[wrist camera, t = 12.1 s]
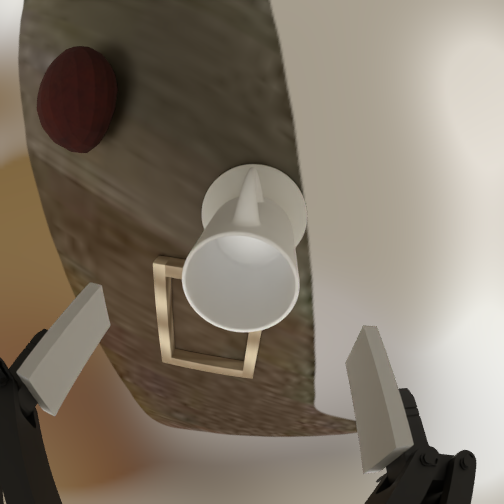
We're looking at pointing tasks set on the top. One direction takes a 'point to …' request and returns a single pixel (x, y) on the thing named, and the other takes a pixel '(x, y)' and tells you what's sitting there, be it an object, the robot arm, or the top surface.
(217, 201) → the plate
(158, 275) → the wooden picture frame
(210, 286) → the mug
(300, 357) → the top surface
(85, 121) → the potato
